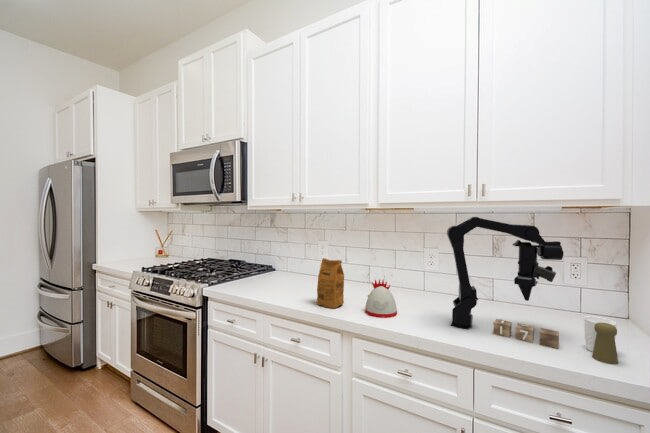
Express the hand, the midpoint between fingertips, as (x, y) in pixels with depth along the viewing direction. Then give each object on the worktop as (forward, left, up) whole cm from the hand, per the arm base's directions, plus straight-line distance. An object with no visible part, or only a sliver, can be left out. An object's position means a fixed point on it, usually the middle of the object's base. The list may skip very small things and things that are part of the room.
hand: (526, 300), depth 115 cm
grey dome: (-53, -15, -12) cm, 56 cm away
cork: (+21, -9, -12) cm, 26 cm away
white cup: (+20, -2, -12) cm, 24 cm away
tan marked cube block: (0, -7, -12) cm, 14 cm away
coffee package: (-77, -21, -12) cm, 81 cm away
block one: (-7, -7, -12) cm, 16 cm away
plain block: (+7, -7, -12) cm, 16 cm away
